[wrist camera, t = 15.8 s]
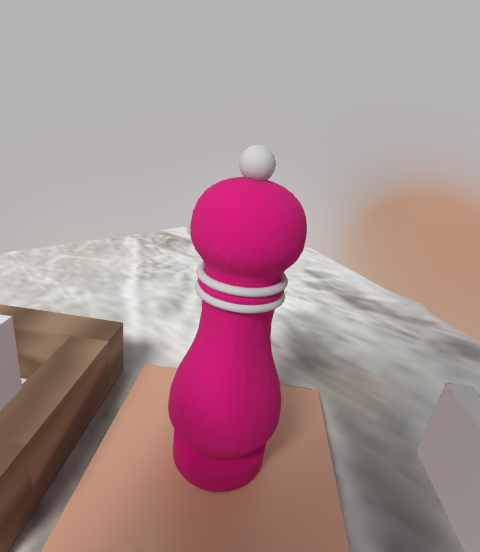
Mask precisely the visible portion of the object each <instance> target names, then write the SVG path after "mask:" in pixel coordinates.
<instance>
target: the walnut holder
mask: <svg viewBox="0 0 480 552" xmlns="http://www.w3.org/2000/svg"><path fill="white" fill-rule="evenodd" d="M0 315H6V316H12V319H13V326H14V333H15V340H16V348H17V355H18V362H19V369H20V377H21V378H26V379H27V380H26V381H25V382H24V383H23V384H22V389H21V390H20V391H19V392H18V393H17V394H16V395H15V396H14V397H13V398H12V399H11V400H10V401H9V402H8V403H7V404H6V405H5V406H4V407H3V408H2V409H1V410H0V552H8V551H9V549H10V548H11V546H12V544H13V543H14V541H15V540H16V538H17V537H18V535H19V533H20V532H21V530H22V529H23V527H24V525H25V524H26V522H27V521H28V519H29V518H30V516H31V514H32V513H33V511H34V510H35V508H36V507H37V505H38V503H39V502H40V500H41V499H42V497H43V495H44V494H45V492H46V491H47V489H48V488H49V486H50V484H51V483H52V481H53V480H54V478H55V476H56V475H57V473H58V472H59V470H60V469H61V467H62V465H63V464H64V462H65V461H66V459H67V458H68V456H69V454H70V453H71V451H72V450H73V448H74V446H75V445H76V443H77V442H78V440H79V439H80V437H81V435H82V434H83V432H84V431H85V429H86V427H87V426H88V424H89V423H90V421H91V420H92V418H93V416H94V415H95V413H96V412H97V410H98V409H99V407H100V405H101V404H102V402H103V401H104V399H105V397H106V396H107V394H108V393H109V391H110V390H111V388H112V386H113V385H114V383H115V382H116V380H117V378H118V377H119V375H120V374H121V372H122V371H123V323H121V322H115V321H108V320H101V319H95V318H88V317H81V316H74V315H68V314H61V313H54V312H48V311H41V310H34V309H27V308H21V307H14V306H7V305H1V304H0Z"/></svg>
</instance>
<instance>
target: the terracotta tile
mask: <svg viewBox="0 0 480 552" xmlns="http://www.w3.org/2000/svg"><path fill="white" fill-rule="evenodd" d="M176 371H177V369H176V368H169V367H162V366H156V365H149V364H144V366H143V368H142V369H141V371H140V373H139V375H138V377H137V378H136V380H135V382H134V384H133V386H132V387H131V389H130V391H129V393H128V395H127V396H126V398H125V400H124V402H123V404H122V405H121V407H120V409H119V411H118V413H117V415H116V416H115V418H114V420H113V422H112V424H111V425H110V427H109V429H108V431H107V433H106V434H105V436H104V438H103V440H102V442H101V443H100V445H99V447H98V449H97V451H96V453H95V454H94V456H93V458H92V460H91V462H90V463H89V465H88V467H87V469H86V471H85V472H84V474H83V476H82V478H81V480H80V481H79V483H78V485H77V487H76V489H75V490H74V492H73V494H72V496H71V498H70V500H69V501H68V503H67V505H66V507H65V509H64V510H63V512H62V514H61V516H60V518H59V519H58V521H57V523H56V525H55V527H54V528H53V530H52V532H51V534H50V536H49V538H48V539H47V541H46V543H45V545H44V547H43V548H42V550H41V552H350V547H349V542H348V537H347V532H346V527H345V522H344V517H343V512H342V508H341V503H340V498H339V493H338V488H337V483H336V478H335V473H334V468H333V463H332V458H331V453H330V448H329V443H328V438H327V433H326V428H325V423H324V418H323V413H322V408H321V403H320V398H319V393H318V390H314V389H307V388H301V387H294V386H288V385H281V384H280V390H281V411H280V419H279V422H278V425H277V428H276V430H275V432H274V434H273V435H272V436H271V438H270V439H269V440H268V441H267V442H266V447H265V452H264V457H263V462H262V466H261V468H260V470H259V472H258V473H257V475H256V476H255V477H254V479H253V480H251V481H250V482H249V483H248V484H246V485H245V486H243V487H241V488H239V489H236V490H232V491H229V492H211V491H207V490H203V489H200V488H199V487H197V486H195V485H193V484H191V483H190V482H188V481H187V480H186V479H185V478H184V477H183V476H182V475H181V473H180V472H179V470H178V469H177V467H176V465H175V462H174V459H173V439H174V428H173V426H172V423H171V421H170V418H169V413H168V400H169V393H170V387H171V384H172V382H173V379H174V376H175V374H176Z"/></svg>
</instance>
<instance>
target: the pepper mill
mask: <svg viewBox="0 0 480 552" xmlns="http://www.w3.org/2000/svg"><path fill="white" fill-rule="evenodd" d="M275 165H276V162H275V157H274V155H273V153H272V152H271V151H270V150H269V149H268V148H267V147H265V146H261V145H253V146H250V147H249V148H247V149H246V150H245V151H244V152H243V153H242V155H241V158H240V162H239V166H240V171H241V173H242V175H243V176H244V177H237V178H230V179H227V180H222V181H220V182H218V183H216V184H214V185H212V186H211V187H210V188H208V189H207V190H206V191H205V192H204V193H203V194H202V196H201V197H200V198H199V199H198V201H197V203H196V206H195V208H194V210H193V215H192V220H191V239H192V242H193V245H194V247H195V249H196V251H197V252H198V253H199V255H200V256H201V257H202V259H203V261H204V262H202V263H201V264H199V266H198V268H197V276H198V280H197V282H196V285H195V289H196V292H197V294H198V295H199V297H200V298H201V299H202V313H201V318H200V323H199V328H198V331H197V334H196V337H195V339H194V342H193V343H192V345H191V347H190V349H189V350H188V352H187V354H186V355H185V357H184V359H183V360H182V362H181V363H180V365H179V367H178V369H177V371H176V374H175V376H174V379H173V382H172V384H171V387H170V393H169V400H168V413H169V418H170V421H171V423H172V426H173V428H174V439H173V459H174V462H175V465H176V467H177V469H178V470H179V472H180V473H181V475H182V476H183V477H184V478H185V479H186V480H187V481H188V482H190V483H191V484H193V485H195V486H197V487H199V488H200V489H203V490H207V491H211V492H229V491H232V490H236V489H239V488H241V487H243V486H245V485H246V484H248V483H249V482H250V481H251V480H253V479H254V477H255V476H256V475H257V473H258V472H259V470H260V468H261V466H262V462H263V457H264V452H265V447H266V442H267V441H268V440H269V439H270V438H271V436H272V435H273V434H274V432H275V430H276V428H277V425H278V422H279V419H280V411H281V390H280V382H279V378H278V375H277V371H276V368H275V364H274V361H273V356H272V352H271V341H270V334H271V321H272V318H273V314H274V310H275V309H276V308H277V307H279V306H280V305H281V304H282V303H283V302H284V299H285V293H284V289H285V288H286V286H287V283H288V280H287V277H286V275H285V274H284V273H283V272H284V271H285V270H286V269H287V268H289V267H290V266H291V265H293V264H294V263H295V262H296V261H297V259H298V258H299V256H300V255H301V253H302V251H303V249H304V244H305V239H306V233H307V224H306V216H305V213H304V210H303V208H302V206H301V204H300V202H299V201H298V200H297V198H296V197H295V196H294V195H293V194H292V193H291V192H289V191H288V190H287V189H286V188H284V187H282V186H280V185H278V184H276V183H274V182H271V181H268V179H269V178H270V177H271V175H272V174H273V172H274V170H275Z"/></svg>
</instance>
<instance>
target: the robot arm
mask: <svg viewBox="0 0 480 552" xmlns="http://www.w3.org/2000/svg"><path fill="white" fill-rule="evenodd" d="M21 389H22V384H21V377H20V369H19V362H18V355H17V348H16V340H15V333H14V326H13V319H12V316H6V315H0V410H1V409H2V408H3V407H4V406H5V405H6V404H7V403H8V402H9V401H10V400H11V399H12V398H13V397H14V396H15V395H16V394H17V393H18V392H19V391H20V390H21ZM417 453H418V456H419V458H420V460H421V462H422V464H423V466H424V468H425V470H426V472H427V475H428V477H429V479H430V481H431V483H432V485H433V487H434V489H435V491H436V494H437V496H438V498H439V500H440V502H441V504H442V506H443V508H444V510H445V512H446V515H447V517H448V519H449V521H450V523H451V525H452V527H453V529H454V531H455V534H456V536H457V538H458V540H459V542H460V544H461V546H462V548H463V550H464V552H480V395H479V394H478V393H477V392H476V391H475V389H474V388H473V387H469V386H463V385H456V384H450V383H446V385H445V387H444V389H443V392H442V394H441V396H440V399H439V401H438V403H437V406H436V408H435V410H434V412H433V415H432V417H431V419H430V422H429V424H428V426H427V429H426V431H425V433H424V436H423V438H422V440H421V443H420V445H419V447H418V449H417Z"/></svg>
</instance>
